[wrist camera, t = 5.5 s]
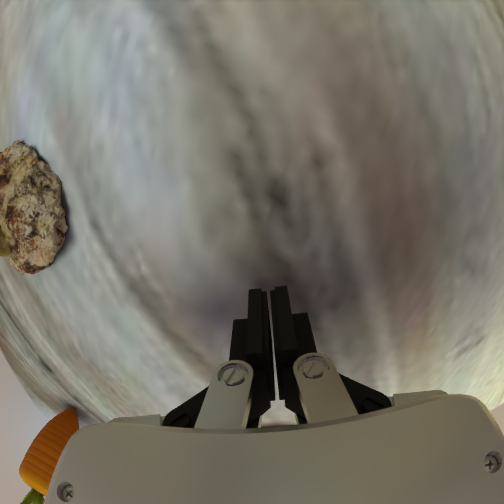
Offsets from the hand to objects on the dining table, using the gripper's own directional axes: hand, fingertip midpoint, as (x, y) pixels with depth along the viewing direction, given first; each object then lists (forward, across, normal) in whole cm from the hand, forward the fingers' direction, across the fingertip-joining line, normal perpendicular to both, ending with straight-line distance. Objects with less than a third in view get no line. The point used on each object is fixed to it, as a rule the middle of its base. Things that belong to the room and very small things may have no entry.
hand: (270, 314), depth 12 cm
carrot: (+2, +21, +13) cm, 25 cm away
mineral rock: (+2, +15, -7) cm, 16 cm away
